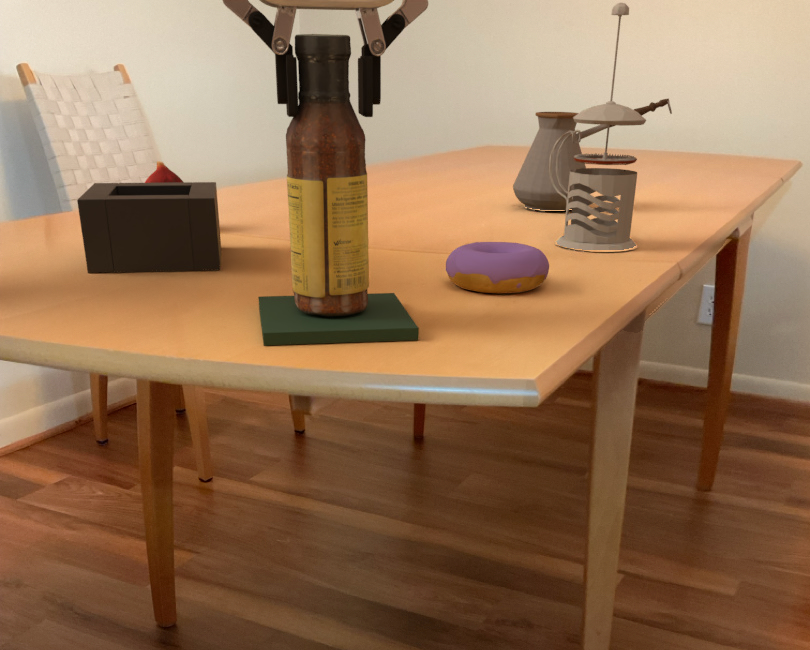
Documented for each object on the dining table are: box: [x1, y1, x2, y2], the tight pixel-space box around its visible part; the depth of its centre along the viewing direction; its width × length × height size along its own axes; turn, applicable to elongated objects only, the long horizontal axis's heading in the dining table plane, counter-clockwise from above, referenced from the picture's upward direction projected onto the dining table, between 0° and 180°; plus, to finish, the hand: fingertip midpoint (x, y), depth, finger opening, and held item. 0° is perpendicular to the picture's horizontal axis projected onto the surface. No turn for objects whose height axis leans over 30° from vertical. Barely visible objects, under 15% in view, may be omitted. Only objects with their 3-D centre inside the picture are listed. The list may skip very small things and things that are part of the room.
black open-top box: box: [76, 181, 222, 274], centre depth 97 cm, size 13×13×7 cm
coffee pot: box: [512, 97, 673, 210], centre depth 131 cm, size 21×12×15 cm, turn 80°
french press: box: [549, 2, 647, 250], centre depth 104 cm, size 10×12×25 cm
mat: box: [258, 292, 420, 346], centre depth 75 cm, size 12×12×1 cm
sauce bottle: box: [285, 33, 370, 316], centre depth 71 cm, size 7×6×20 cm
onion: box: [144, 160, 184, 183], centre depth 113 cm, size 6×6×8 cm
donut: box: [445, 241, 550, 294], centre depth 88 cm, size 10×9×5 cm
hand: (329, 113), depth 68 cm, fingers open, 4 cm apart
